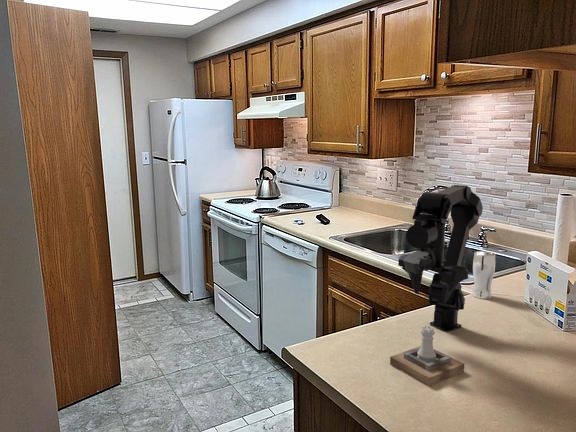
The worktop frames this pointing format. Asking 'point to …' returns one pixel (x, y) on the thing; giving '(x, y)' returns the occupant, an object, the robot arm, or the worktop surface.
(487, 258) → the beer glass
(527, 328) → the worktop surface
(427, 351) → the rook chess piece
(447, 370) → the plinth
